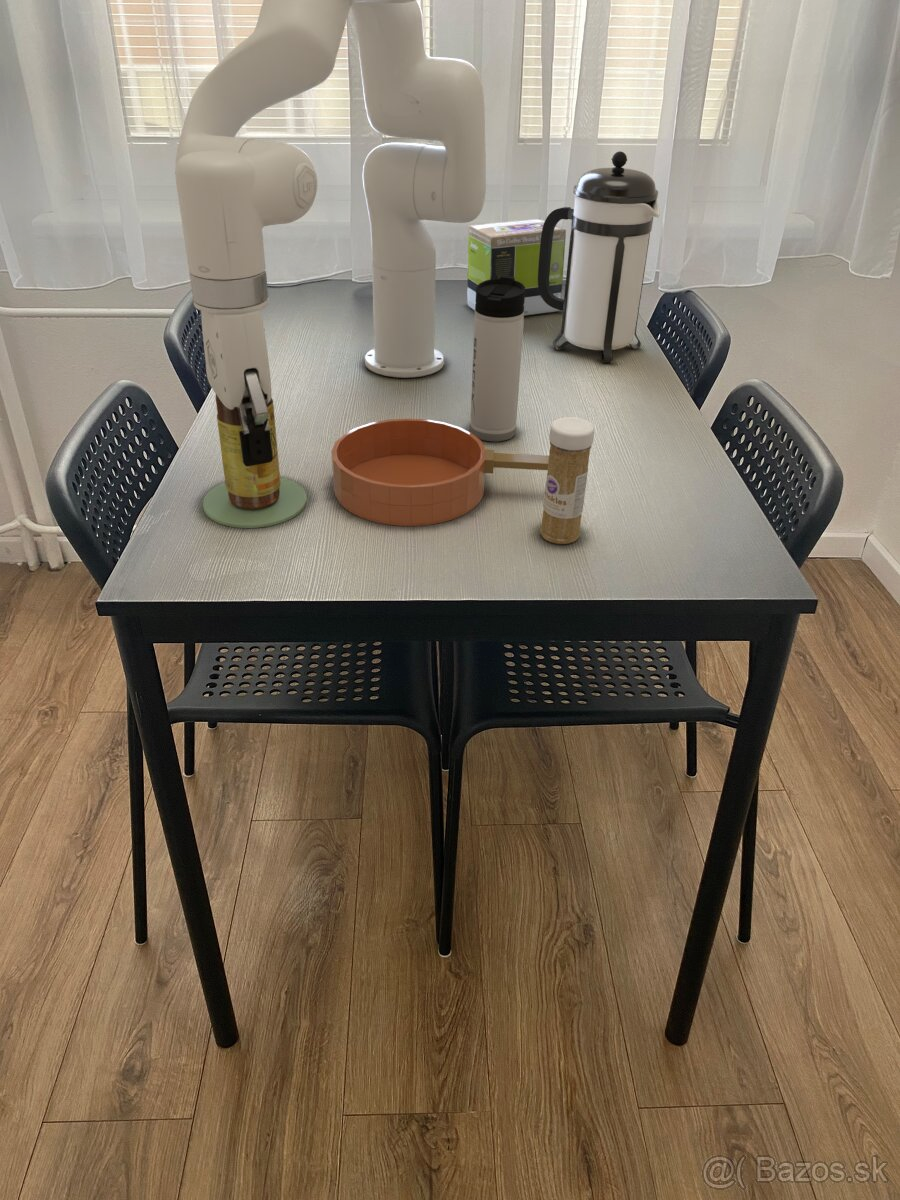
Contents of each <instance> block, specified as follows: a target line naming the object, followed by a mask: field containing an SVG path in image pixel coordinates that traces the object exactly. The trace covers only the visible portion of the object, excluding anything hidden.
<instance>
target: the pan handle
mask: <svg viewBox="0 0 900 1200" xmlns="http://www.w3.org/2000/svg"><path fill="white" fill-rule="evenodd" d="M485 450H486V451H485V469H484V473H485V474H492V475H493V474H494V469H495V468H497V469H498V468H499V469H513V470H532V471H533V470H534V471H535V470H536V471H548V462H549V455H543V454H525V453H524V454H523V453H507V452H504V453H503V452H495V449H488V448H485Z"/></svg>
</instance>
